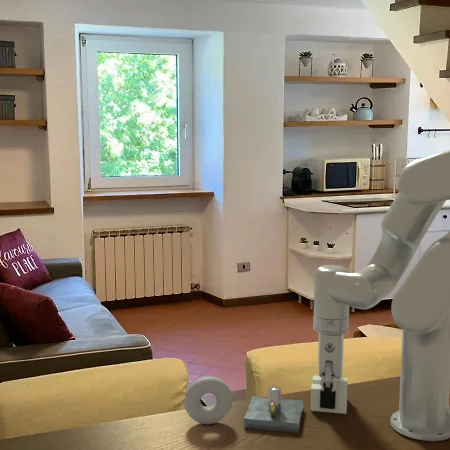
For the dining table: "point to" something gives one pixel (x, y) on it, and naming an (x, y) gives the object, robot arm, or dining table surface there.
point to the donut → (201, 388)
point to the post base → (274, 412)
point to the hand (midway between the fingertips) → (328, 398)
